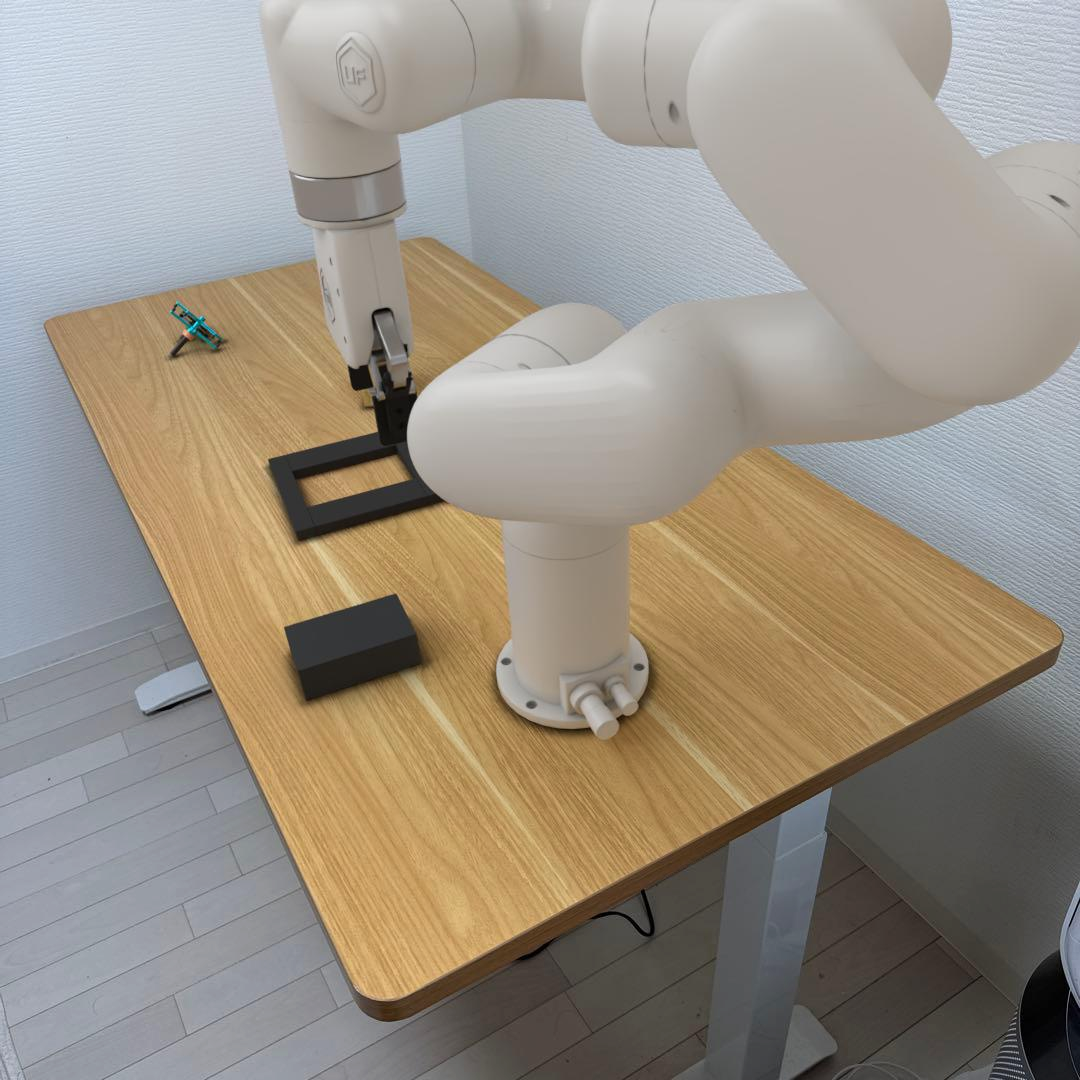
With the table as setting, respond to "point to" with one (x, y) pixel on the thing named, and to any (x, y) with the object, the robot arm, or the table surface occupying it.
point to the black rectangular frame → (350, 507)
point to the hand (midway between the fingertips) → (385, 412)
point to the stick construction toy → (192, 329)
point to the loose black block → (352, 646)
